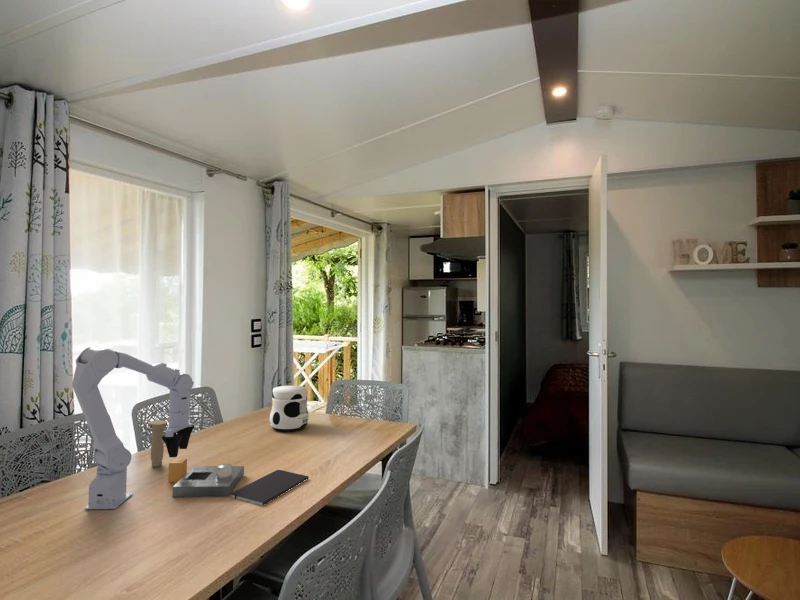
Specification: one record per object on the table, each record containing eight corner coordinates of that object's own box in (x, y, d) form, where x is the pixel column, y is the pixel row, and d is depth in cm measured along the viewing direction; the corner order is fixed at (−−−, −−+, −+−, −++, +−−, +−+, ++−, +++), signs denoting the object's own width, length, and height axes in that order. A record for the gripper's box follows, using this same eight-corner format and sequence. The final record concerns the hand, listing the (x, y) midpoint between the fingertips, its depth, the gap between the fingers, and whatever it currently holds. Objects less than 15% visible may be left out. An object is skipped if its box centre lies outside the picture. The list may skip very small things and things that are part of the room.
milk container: (269, 424, 206) (269, 385, 206) (306, 421, 211) (307, 384, 211) (269, 434, 189) (270, 393, 190) (310, 432, 195) (311, 391, 195)
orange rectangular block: (181, 482, 139) (181, 463, 139) (168, 482, 138) (168, 463, 138) (186, 477, 143) (187, 458, 143) (173, 477, 142) (174, 458, 142)
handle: (156, 469, 148) (157, 425, 148) (144, 466, 151) (145, 422, 151) (169, 465, 153) (170, 421, 153) (156, 461, 155) (157, 419, 155)
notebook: (262, 508, 123) (308, 481, 143) (262, 502, 124) (308, 476, 143) (229, 498, 129) (277, 473, 148) (229, 493, 129) (278, 469, 148)
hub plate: (228, 496, 129) (229, 476, 129) (172, 497, 128) (172, 476, 128) (243, 475, 145) (244, 457, 145) (194, 475, 144) (194, 457, 144)
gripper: (182, 416, 134) (181, 460, 134) (200, 405, 148) (199, 445, 148) (158, 416, 133) (157, 461, 133) (178, 405, 148) (178, 445, 148)
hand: (178, 452), depth 141 cm, fingers open, 7 cm apart
